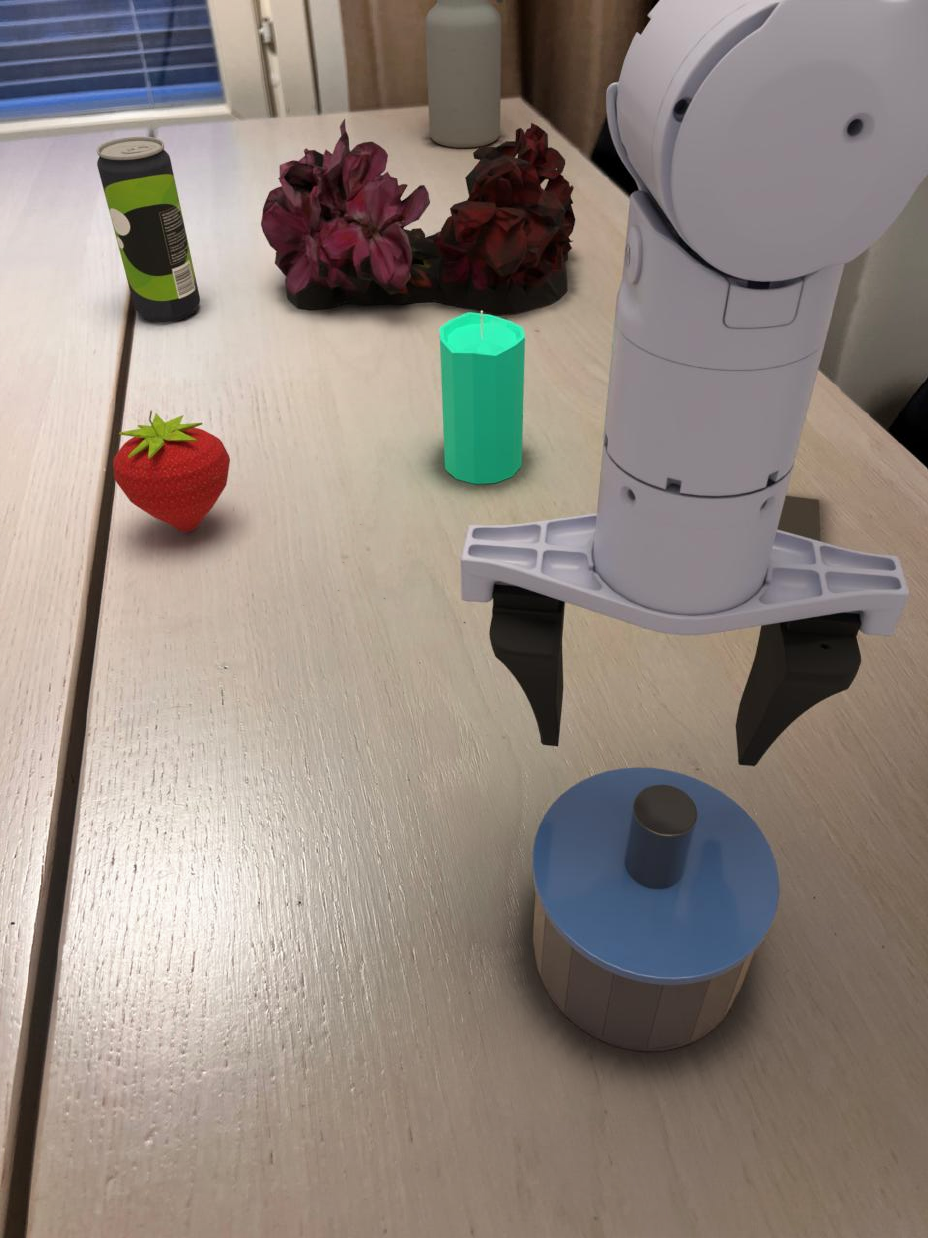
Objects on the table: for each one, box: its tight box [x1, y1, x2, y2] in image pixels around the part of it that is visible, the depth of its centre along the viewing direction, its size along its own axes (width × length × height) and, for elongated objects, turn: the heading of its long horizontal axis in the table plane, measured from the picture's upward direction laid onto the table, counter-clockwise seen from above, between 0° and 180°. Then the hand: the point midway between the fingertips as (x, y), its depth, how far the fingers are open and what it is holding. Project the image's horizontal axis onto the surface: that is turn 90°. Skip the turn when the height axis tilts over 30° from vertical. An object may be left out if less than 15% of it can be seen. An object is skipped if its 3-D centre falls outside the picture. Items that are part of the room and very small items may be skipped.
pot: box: [532, 892, 756, 1052], centre depth 41 cm, size 9×9×6 cm
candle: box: [439, 311, 526, 485], centre depth 68 cm, size 6×6×12 cm
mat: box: [777, 495, 821, 542], centre depth 65 cm, size 10×10×1 cm
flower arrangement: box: [260, 118, 576, 316], centre depth 91 cm, size 31×20×15 cm, turn 99°
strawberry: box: [112, 410, 231, 533], centre depth 63 cm, size 6×8×10 cm
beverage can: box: [96, 136, 201, 324], centre depth 88 cm, size 6×6×15 cm
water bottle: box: [425, 0, 504, 149], centre depth 122 cm, size 10×10×28 cm
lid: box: [531, 766, 780, 985], centre depth 37 cm, size 10×10×5 cm
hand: (647, 736), depth 38 cm, fingers open, 7 cm apart
